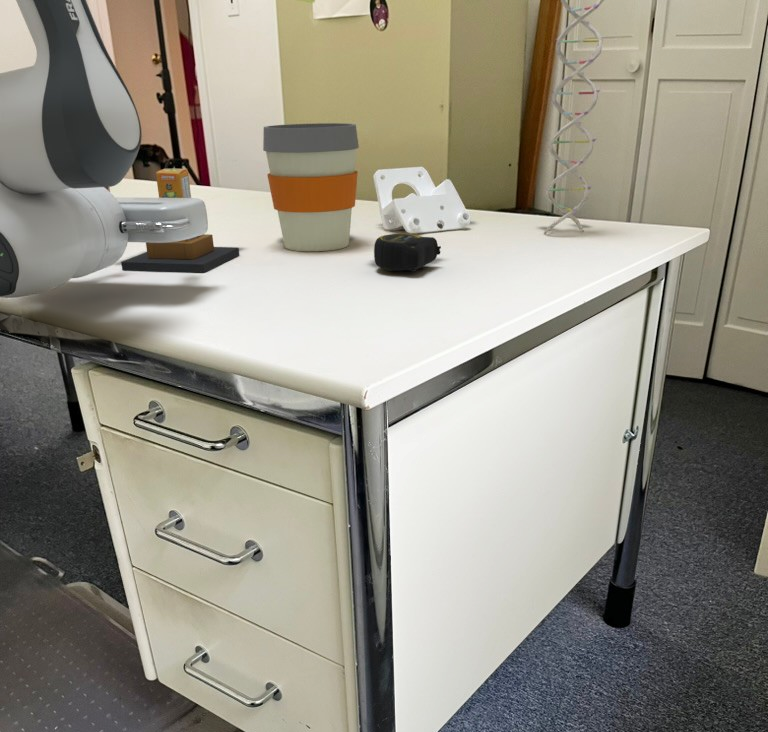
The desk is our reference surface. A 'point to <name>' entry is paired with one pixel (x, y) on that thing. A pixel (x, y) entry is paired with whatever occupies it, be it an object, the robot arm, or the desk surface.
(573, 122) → the dna model
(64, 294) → the desk surface
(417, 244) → the tape measure
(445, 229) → the mounting bracket
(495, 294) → the desk surface
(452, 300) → the desk surface
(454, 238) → the desk surface
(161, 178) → the supplement box
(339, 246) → the reusable coffee cup
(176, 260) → the base pad
